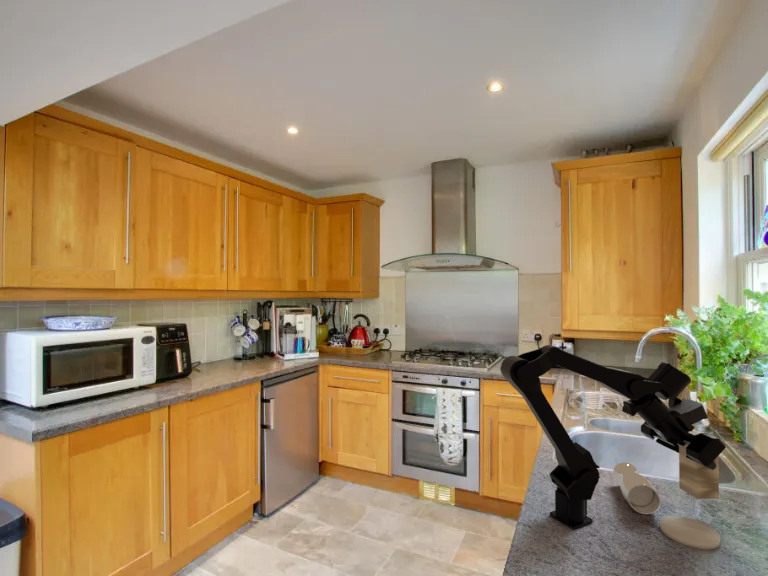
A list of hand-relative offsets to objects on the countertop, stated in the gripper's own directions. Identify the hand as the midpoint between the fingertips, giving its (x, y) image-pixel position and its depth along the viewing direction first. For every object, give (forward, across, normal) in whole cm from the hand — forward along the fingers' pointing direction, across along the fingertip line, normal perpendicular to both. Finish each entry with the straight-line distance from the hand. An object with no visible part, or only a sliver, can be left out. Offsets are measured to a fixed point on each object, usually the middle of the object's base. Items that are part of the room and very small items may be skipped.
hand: (704, 463), depth 92 cm
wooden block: (+4, 0, +6) cm, 7 cm away
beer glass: (0, +15, +12) cm, 19 cm away
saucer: (+2, -7, +15) cm, 16 cm away
